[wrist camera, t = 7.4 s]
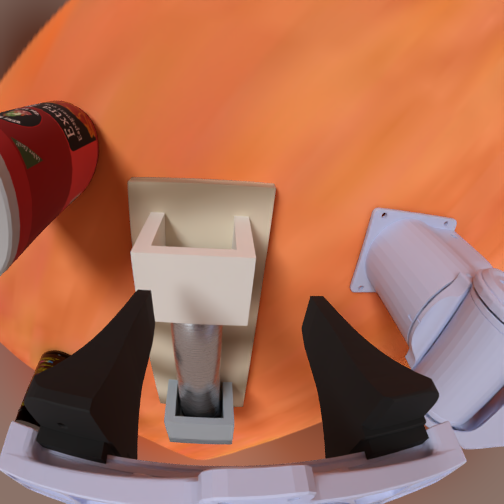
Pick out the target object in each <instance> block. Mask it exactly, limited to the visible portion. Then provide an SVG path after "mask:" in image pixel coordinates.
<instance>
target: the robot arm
mask: <svg viewBox="0 0 504 504" xmlns="http://www.w3.org/2000/svg"><path fill="white" fill-rule="evenodd" d="M383 213H385V215H384V216H383V217H382V214H383ZM444 223H445V224H444ZM456 224H457V222H456V220H455V219H453V218H447V217H441V216H435V215H428V214H422V213H415V212H408V211H401V210H394V209H386V208H375V209H374V210H373V212H372V215H371V218H370V222H369V225H368V229H367V233H366V236H365V239H364V243H363V246H362V250H361V253H360V256H359V259H358V263H357V266H356V269H355V272H354V275H353V278H352V281H351V284H350V289H351V291H352V292H377V293H378V295H379V297H380V298H381V300H382V301H383V303H384V305H385V306H386V308H387V310H388V311H389V313H390V315H391V316H392V318H393V320H394V322H395V323H396V325H397V327H398V328H399V330H400V332H401V334H402V335H403V337H404V339H405V341H406V342H407V344H408V346H409V351H408V353H407V354H406V356H405V358H406V360H407V362H408V364H409V366H410V368H411V369H409V368H407V367H405V366H403V365H401V364H400V363H398V362H396V361H394V360H393V359H391V358H390V357H388V356H387V355H385V354H384V353H382V352H381V351H380V350H378V349H377V348H376V347H374V346H373V345H372V344H370V343H369V342H368V341H367V340H366V339H364V338H363V337H362V336H361V335H360V334H359V333H358V332H357V331H356V330H355V329H354V328H353V327H352V326H351V325H350V324H349V323H348V322H347V321H346V320H345V319H344V318H343V317H342V316H341V315H340V314H339V313H338V312H337V311H336V310H335V309H334V308H333V306H332V305H331V304H330V303H329V302H328V301H327V300H326V299H325V298H324V297H323V296H310V300H309V304H308V307H307V311H306V314H305V318H304V321H303V325H302V334H303V340H304V346H305V350H306V353H307V357H308V360H309V363H310V367H311V370H312V373H313V376H314V380H315V383H316V387H317V391H318V396H319V402H320V408H321V415H322V422H323V431H324V440H325V455H326V456H325V457H326V459H320V460H313V461H305V462H297V463H287V464H275V465H259V466H197V465H196V466H195V465H180V464H167V463H158V462H150V461H142V460H137V438H138V420H139V408H140V398H141V390H142V384H143V380H144V376H145V372H146V368H147V364H148V360H149V356H150V352H151V348H152V344H153V338H154V330H155V317H154V310H153V302H152V294H151V290H139V289H138V290H137V291H136V292H135V293H134V295H133V296H132V297H131V298H130V299H129V301H128V302H127V303H126V304H125V306H124V307H123V308H122V309H121V310H120V311H119V312H118V314H117V315H116V316H115V317H114V318H113V319H112V320H111V321H110V322H109V323H108V325H107V326H106V327H105V328H104V329H103V330H102V331H101V332H100V333H99V334H97V335H96V336H95V337H94V338H93V339H92V340H91V341H90V342H88V343H87V344H86V345H85V346H84V347H82V348H81V349H79V350H78V351H77V352H75V353H74V354H73V355H71V356H70V357H68V358H66V359H65V360H63V361H62V362H60V363H58V364H56V365H55V366H53V367H51V368H49V369H47V370H45V371H43V372H40V373H38V374H36V375H34V377H33V379H32V381H31V383H30V386H29V389H28V391H27V394H26V396H25V399H24V405H25V407H26V409H27V410H28V412H29V413H30V414H31V415H32V416H33V418H34V419H35V420H36V421H37V422H38V423H39V425H40V429H39V432H38V431H37V430H35V429H33V428H31V427H29V426H26V425H23V424H20V423H17V422H15V421H12V422H11V424H10V427H9V430H8V433H7V436H6V439H5V443H4V446H3V449H2V452H1V456H0V470H1V471H2V472H3V473H5V474H6V475H8V476H9V477H11V478H12V479H14V480H15V481H17V482H18V483H20V484H21V485H23V486H24V487H26V488H28V489H30V490H33V491H35V492H38V493H40V494H43V495H45V496H48V497H50V498H53V499H56V500H58V501H61V502H64V503H67V504H383V503H386V502H389V501H392V500H394V499H397V498H400V497H402V496H405V495H407V494H410V493H412V492H415V491H417V490H419V489H422V488H424V487H426V486H429V485H431V484H433V483H436V482H437V481H439V480H441V479H442V478H444V477H445V476H447V475H448V474H450V473H451V472H453V471H454V470H456V469H457V468H459V467H460V466H461V465H463V464H464V463H466V458H465V456H464V453H463V451H462V449H461V447H462V448H464V449H481V448H491V447H500V446H504V272H503V271H501V270H499V269H496V268H493V267H492V266H491V264H490V263H489V262H488V261H487V260H486V259H485V258H484V257H483V256H482V255H481V254H480V253H479V252H477V251H476V250H475V249H474V248H473V247H472V246H471V245H470V244H469V243H467V242H466V241H465V240H464V239H463V238H462V237H461V236H459V235H458V234H457V233H456V232H455V231H454V230H455V227H456ZM360 286H361V287H360ZM359 287H360V288H359ZM424 425H426V426H427V427H429V428H428V429H427V430H425V427H424Z"/></svg>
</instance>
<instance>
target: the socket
mask: <svg viewBox="0 0 504 504" xmlns="http://www.w3.org/2000/svg"><path fill="white" fill-rule="evenodd" d="M164 423H165V426H166V430H167V433H168V436H169V440H170V442H181V443H197V444H232V439H233V431H234V411H233V392H232V382H223V385H222V400H219V415H218V418H201V417H183V415H182V410H181V401H180V395H179V388H178V381H177V380H173V379H169V382H168V390H167V399H166V409H165V418H164Z"/></svg>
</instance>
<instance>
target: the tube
mask: <svg viewBox="0 0 504 504" xmlns="http://www.w3.org/2000/svg"><path fill="white" fill-rule="evenodd" d="M222 330H223V325H207V324H187V323H171V333H172V342H173V351H174V359H175V367H176V374H177V381H178V388H179V395H180V401H181V410H182V415H183V417H201V418H218V415H219V392H220V370H221V349H222Z"/></svg>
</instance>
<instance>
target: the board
mask: <svg viewBox="0 0 504 504" xmlns="http://www.w3.org/2000/svg"><path fill="white" fill-rule="evenodd" d="M275 192H276V187H275V185H274V184H273V183H261V182H247V181H232V180H214V179H192V178H156V177H131V178H130V180H129V181H128V200H129V215H130V227H131V238H132V248H133V246H134V244H135V242H136V240H137V238H138V236H139V234H140V232H141V230H142V228H143V226H144V224H145V222H146V220H147V219H148V217H149V215H150V213H151V212H162V213H165V236H166V246H168V247H190V248H211V249H232V238H233V226H234V216H248V217H249V220H250V226H251V232H252V237H253V243H254V249H255V255H256V263H255V271H254V279H253V286H252V294H251V302H250V310H249V317H248V325H247V326H237V325H223V330H222V349H221V370H220V392H219V400H222V385H223V382H232V392H233V407H243V403H244V397H245V391H246V385H247V379H248V372H249V366H250V360H251V354H252V347H253V341H254V334H255V328H256V322H257V315H258V309H259V302H260V295H261V289H262V282H263V275H264V269H265V262H266V255H267V248H268V241H269V234H270V227H271V220H272V213H273V206H274V199H275ZM150 361H151V365H152V370H153V374H154V379H155V383H156V387H157V391H158V395H159V399H160V403H164V404H166V399H167V390H168V382H169V379H173V380H177V374H176V367H175V359H174V351H173V342H172V333H171V323H170V322H155V330H154V338H153V344H152V348H151V352H150Z"/></svg>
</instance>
